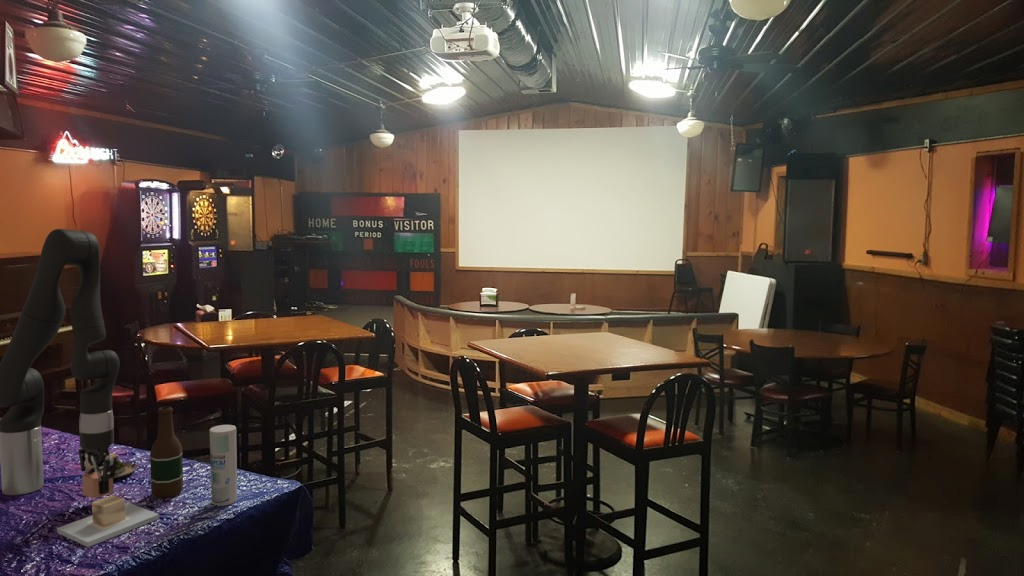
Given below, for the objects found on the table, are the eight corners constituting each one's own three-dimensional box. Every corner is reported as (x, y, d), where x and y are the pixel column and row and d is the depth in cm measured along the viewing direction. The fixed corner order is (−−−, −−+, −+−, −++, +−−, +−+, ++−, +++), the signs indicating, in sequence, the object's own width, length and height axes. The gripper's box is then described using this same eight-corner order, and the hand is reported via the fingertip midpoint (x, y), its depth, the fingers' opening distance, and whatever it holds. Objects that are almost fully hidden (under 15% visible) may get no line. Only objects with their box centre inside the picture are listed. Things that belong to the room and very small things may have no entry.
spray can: (242, 497, 179) (241, 425, 177) (227, 507, 173) (226, 433, 171) (221, 494, 180) (219, 423, 178) (205, 504, 174) (204, 430, 172)
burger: (103, 486, 184) (102, 460, 184) (82, 477, 190) (81, 452, 190) (146, 473, 194) (145, 448, 194) (124, 464, 201) (123, 441, 200)
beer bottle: (170, 500, 176) (167, 412, 173) (144, 497, 177) (141, 410, 175) (189, 489, 183) (187, 405, 181) (165, 486, 185) (162, 402, 182)
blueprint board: (57, 532, 157) (57, 527, 157) (128, 506, 171) (128, 502, 171) (87, 547, 150) (87, 541, 150) (158, 518, 165) (158, 513, 165)
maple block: (92, 522, 160) (91, 502, 159) (113, 514, 164) (112, 495, 164) (104, 527, 157) (103, 507, 157) (125, 519, 162) (124, 499, 161)
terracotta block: (82, 494, 171) (82, 475, 171) (102, 487, 175) (102, 469, 175) (93, 498, 169) (92, 480, 168) (113, 492, 173) (112, 474, 172)
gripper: (127, 429, 170) (128, 492, 172) (96, 418, 177) (98, 479, 179) (96, 437, 163) (98, 502, 165) (66, 425, 171) (68, 488, 172)
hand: (97, 490), depth 172 cm, fingers closed on terracotta block, 5 cm apart
